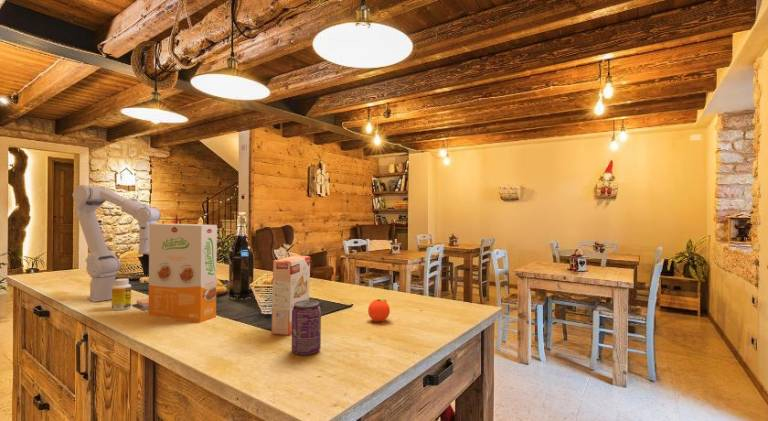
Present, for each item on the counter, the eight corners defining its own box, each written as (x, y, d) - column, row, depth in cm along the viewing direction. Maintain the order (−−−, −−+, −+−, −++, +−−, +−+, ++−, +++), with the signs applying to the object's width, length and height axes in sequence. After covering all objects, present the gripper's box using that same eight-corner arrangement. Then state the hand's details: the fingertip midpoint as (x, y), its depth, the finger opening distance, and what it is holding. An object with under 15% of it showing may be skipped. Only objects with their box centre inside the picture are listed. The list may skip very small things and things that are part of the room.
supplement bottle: (126, 310, 129) (127, 280, 129) (108, 311, 128) (108, 281, 128) (133, 306, 135) (134, 277, 135) (116, 307, 133) (116, 278, 133)
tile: (136, 300, 136) (143, 303, 131) (155, 297, 140) (162, 300, 136) (136, 304, 136) (143, 307, 131) (155, 301, 140) (162, 304, 136)
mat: (132, 305, 136) (132, 304, 136) (159, 300, 143) (159, 300, 143) (143, 310, 129) (143, 309, 129) (171, 305, 136) (171, 304, 136)
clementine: (378, 316, 126) (378, 294, 126) (395, 319, 122) (395, 297, 122) (363, 321, 119) (363, 299, 119) (381, 325, 115) (381, 302, 115)
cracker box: (290, 336, 105) (291, 261, 105) (270, 334, 106) (271, 260, 106) (310, 321, 118) (311, 255, 118) (292, 320, 120) (293, 254, 120)
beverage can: (308, 344, 99) (308, 298, 99) (326, 350, 94) (326, 302, 94) (285, 351, 93) (286, 303, 93) (303, 359, 89) (304, 308, 89)
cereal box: (215, 317, 122) (217, 225, 122) (200, 322, 116) (201, 225, 116) (165, 310, 130) (166, 223, 130) (148, 314, 124) (149, 224, 124)
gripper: (167, 239, 141) (166, 275, 141) (152, 237, 150) (152, 271, 150) (146, 240, 136) (145, 278, 136) (132, 238, 145) (131, 273, 145)
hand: (147, 274), depth 143 cm, fingers closed
